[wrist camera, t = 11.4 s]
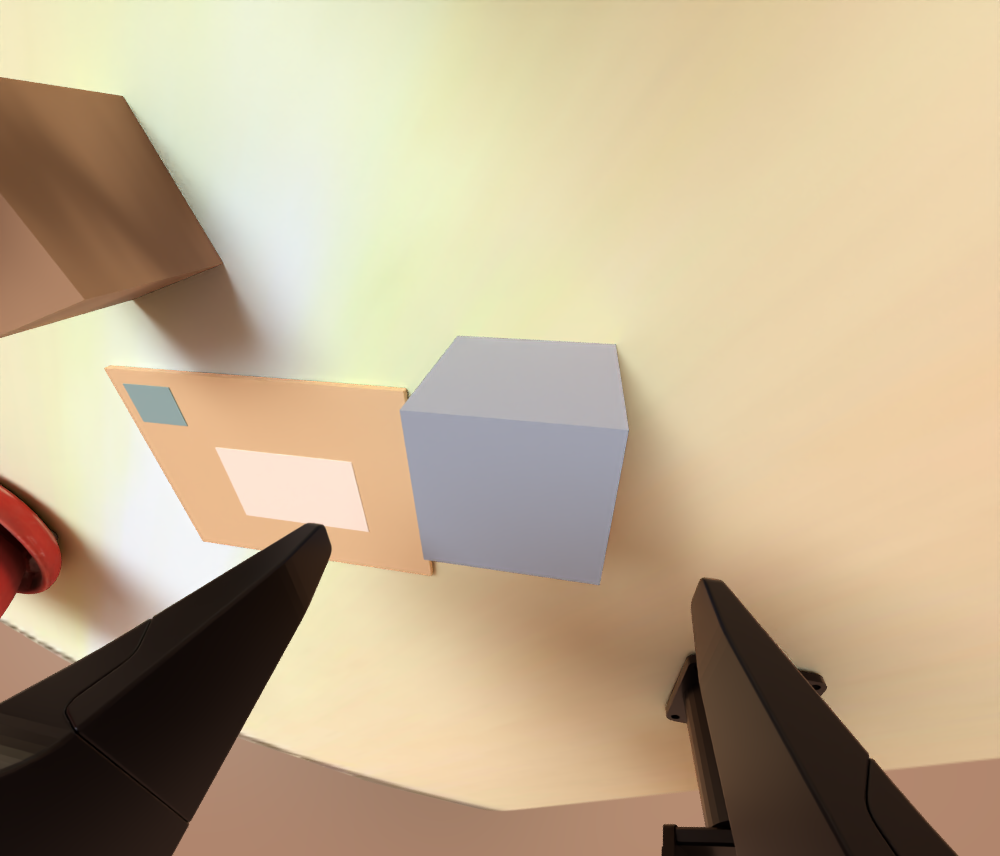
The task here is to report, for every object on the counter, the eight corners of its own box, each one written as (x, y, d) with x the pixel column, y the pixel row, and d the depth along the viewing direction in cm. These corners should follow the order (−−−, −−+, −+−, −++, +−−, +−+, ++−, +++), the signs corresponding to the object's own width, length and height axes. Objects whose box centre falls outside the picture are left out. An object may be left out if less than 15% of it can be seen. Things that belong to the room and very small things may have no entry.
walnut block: (225, 262, 15) (84, 299, 11) (134, 299, 16) (-19, 343, 12) (125, 96, 13) (-105, 60, 8) (30, 156, 14) (-203, 152, 10)
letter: (432, 571, 22) (431, 576, 22) (206, 537, 24) (202, 541, 24) (406, 388, 16) (402, 391, 16) (110, 365, 18) (103, 368, 18)
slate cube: (596, 471, 17) (599, 585, 12) (466, 458, 18) (423, 559, 13) (615, 343, 14) (628, 429, 9) (458, 334, 15) (399, 409, 10)
